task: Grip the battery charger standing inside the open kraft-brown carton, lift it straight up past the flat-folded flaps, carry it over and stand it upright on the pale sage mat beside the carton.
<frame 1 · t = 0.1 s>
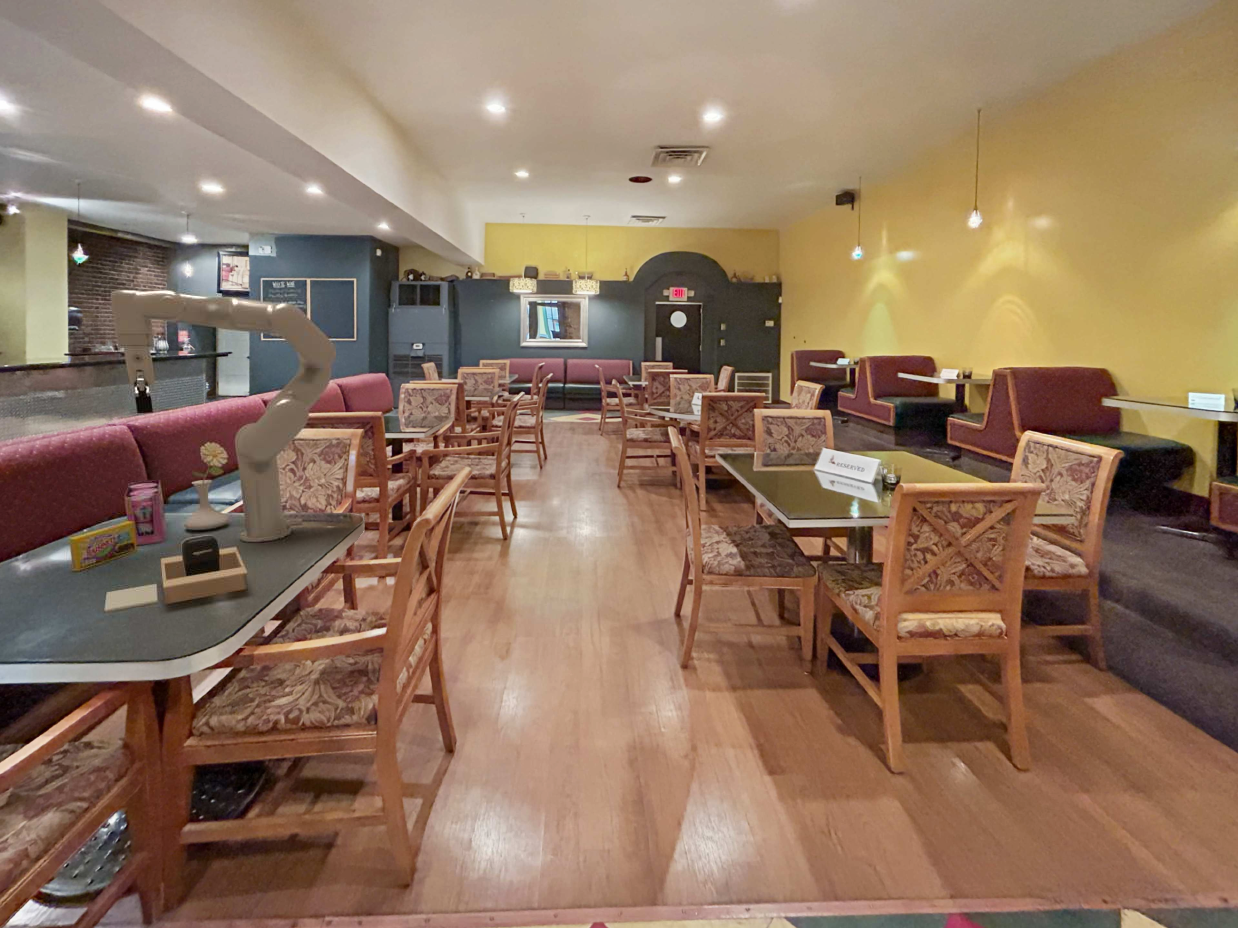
hand: (145, 411, 172), 37 cm above the table, tool pointing down, fingers open, 9 cm apart
candy box: (107, 561, 173), on the table
mat: (132, 598, 147), on the table
battery charger: (205, 587, 154), resting in carton
carton: (205, 586, 154), on the table
gum box: (149, 535, 196), on the table
flower in vase: (210, 527, 202), on the table
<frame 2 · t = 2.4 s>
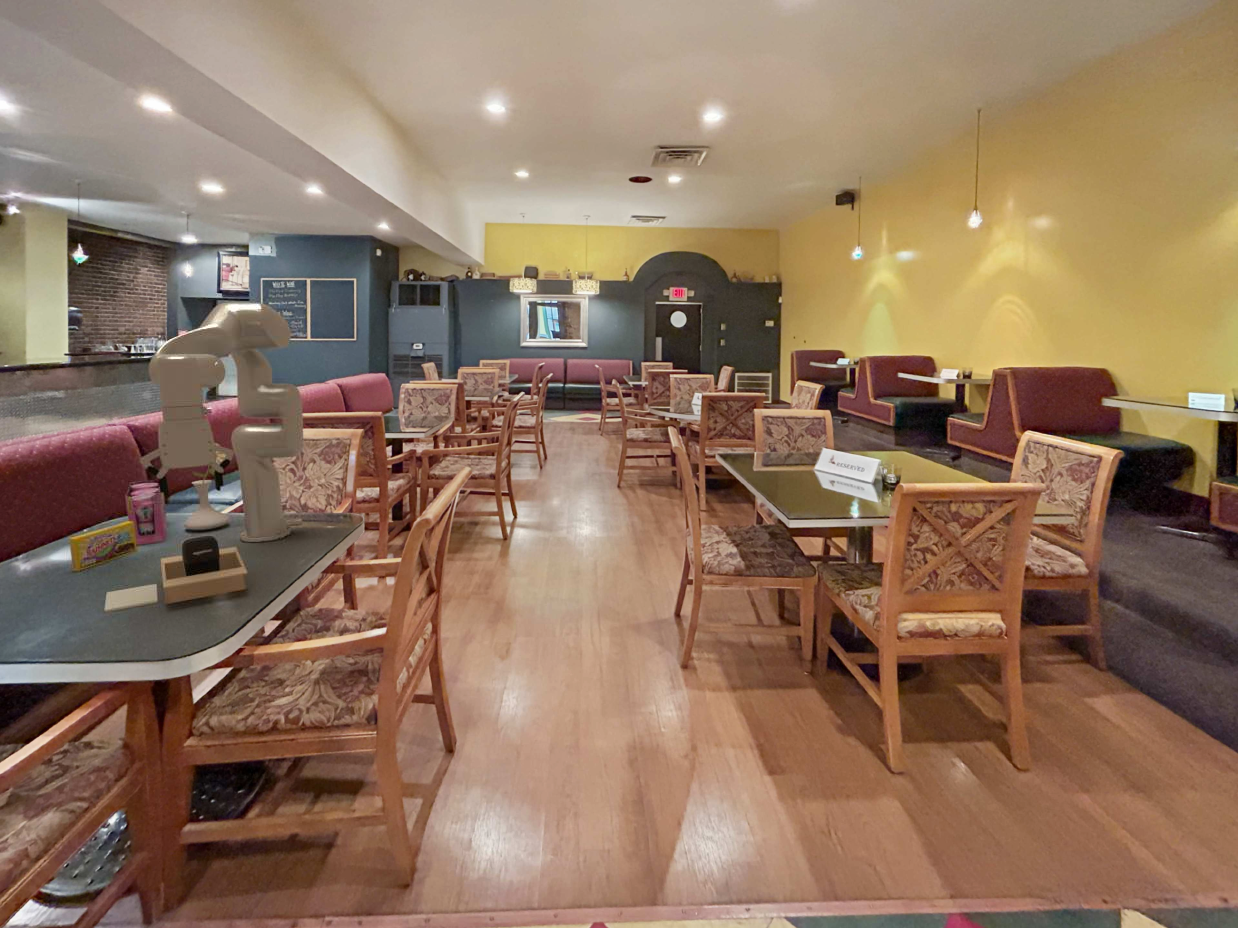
hand: (192, 492, 150), 22 cm above the table, tool pointing down, fingers open, 9 cm apart
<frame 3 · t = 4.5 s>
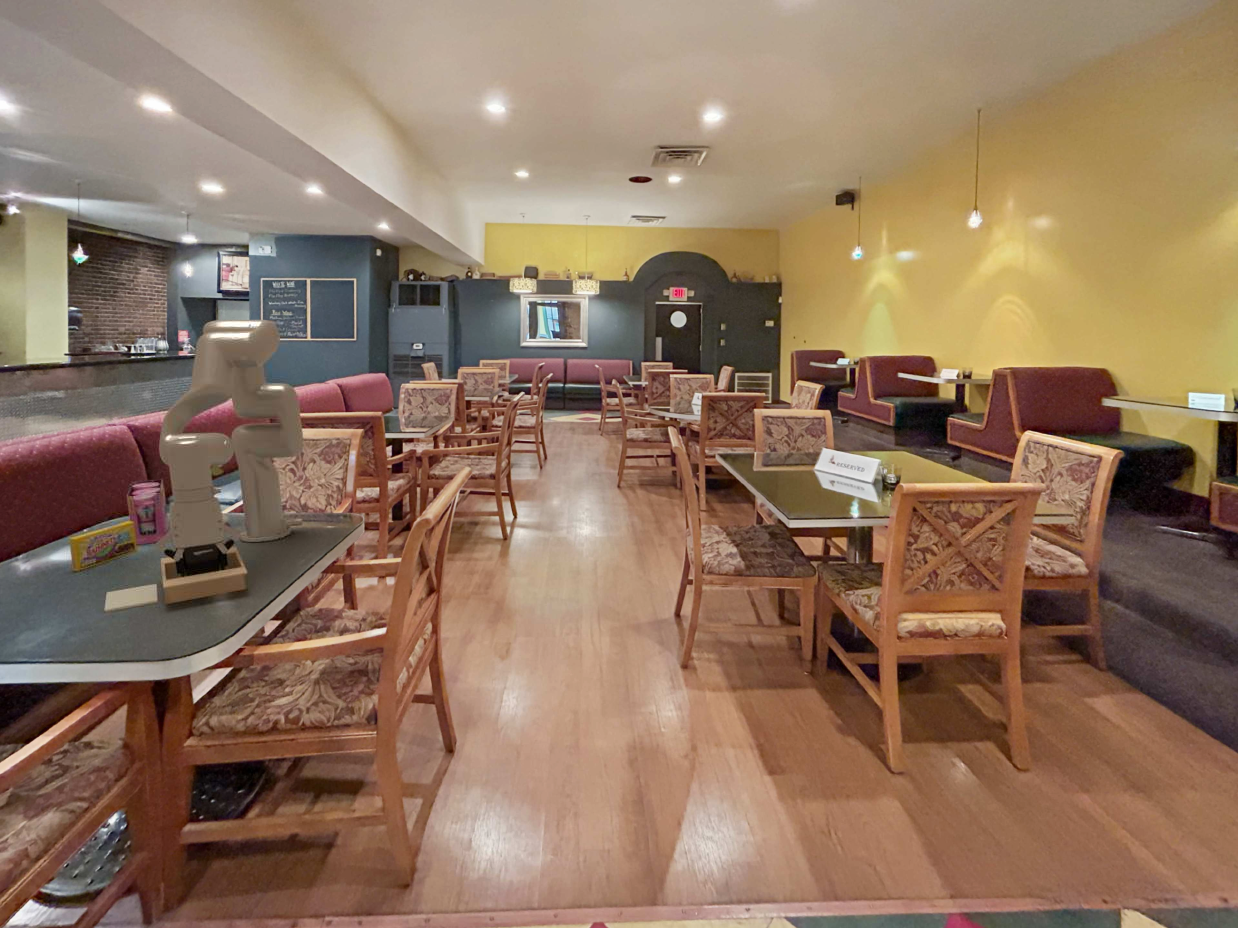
hand: (203, 572, 153), 3 cm above the table, tool pointing down, fingers closed on battery charger, 7 cm apart
battery charger: (205, 587, 154), resting in carton, touching gripper
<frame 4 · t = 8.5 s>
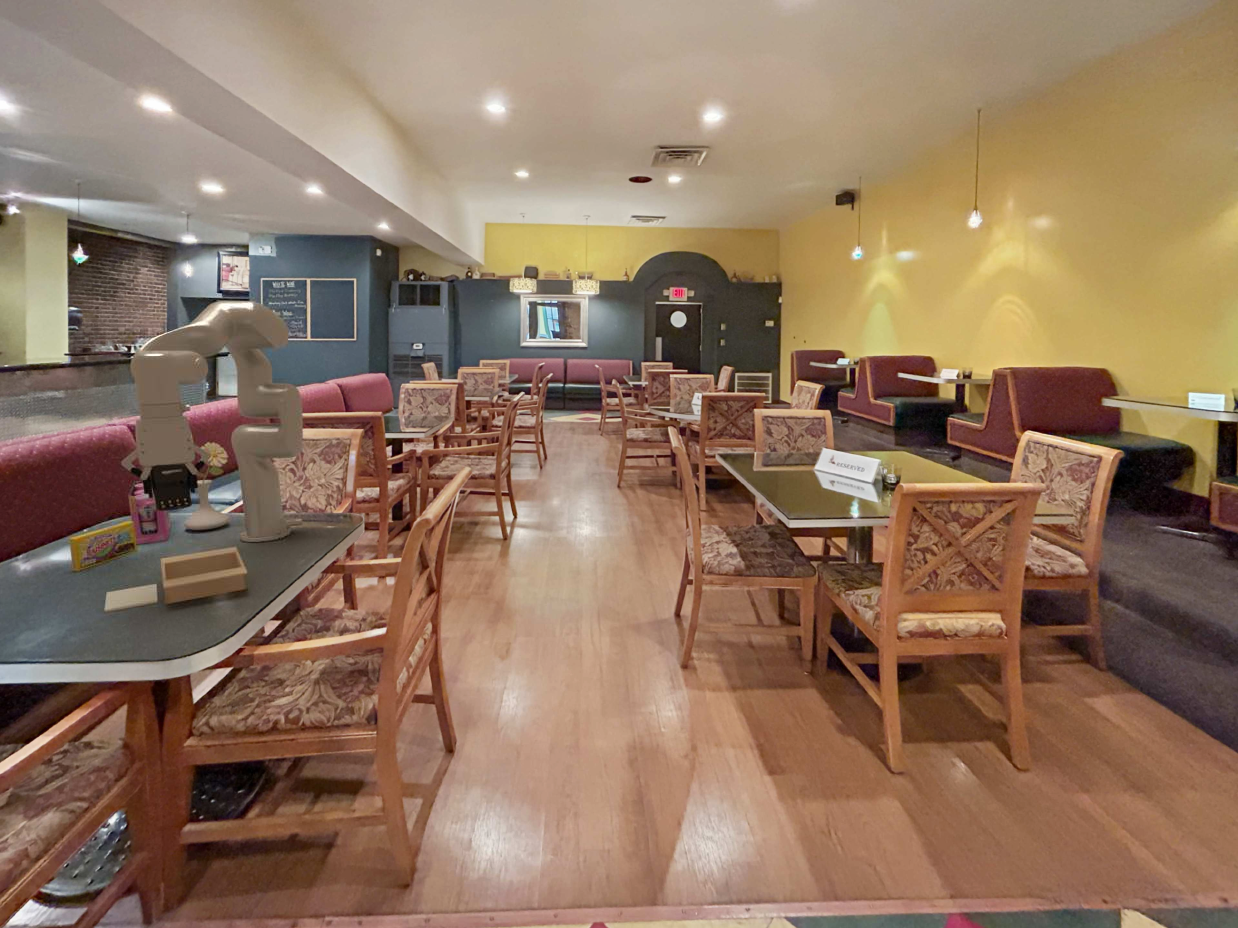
hand: (172, 493, 148), 22 cm above the table, tool pointing down, fingers closed on battery charger, 7 cm apart
battery charger: (174, 509, 149), point 18 cm above the table, touching gripper
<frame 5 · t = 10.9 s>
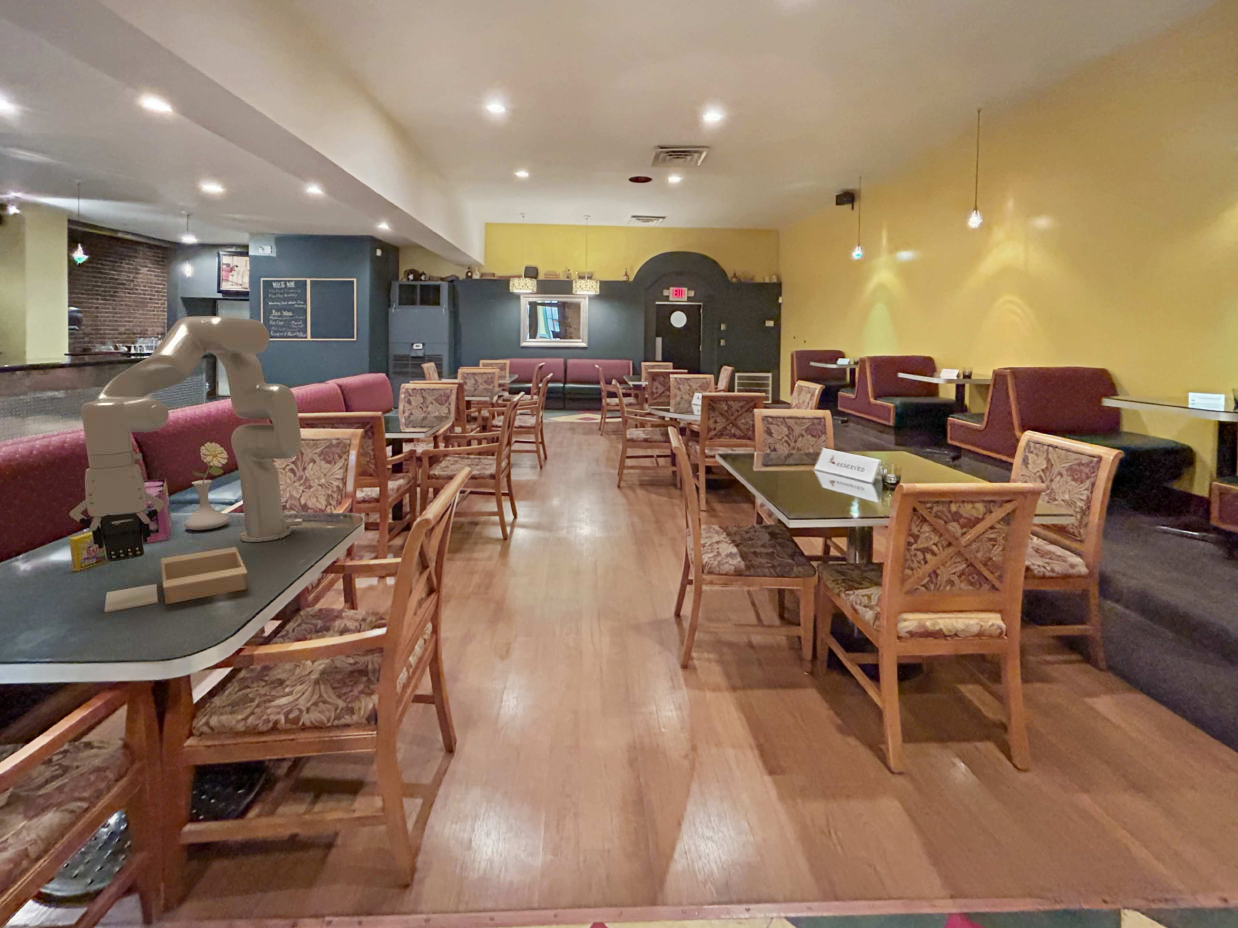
hand: (123, 543, 145), 12 cm above the table, tool pointing down, fingers closed on battery charger, 7 cm apart
battery charger: (126, 559, 146), point 9 cm above the table, touching gripper
when the fingers open (5 cm above the table, at t = 12.9 s): battery charger stays where it is, resting on mat.
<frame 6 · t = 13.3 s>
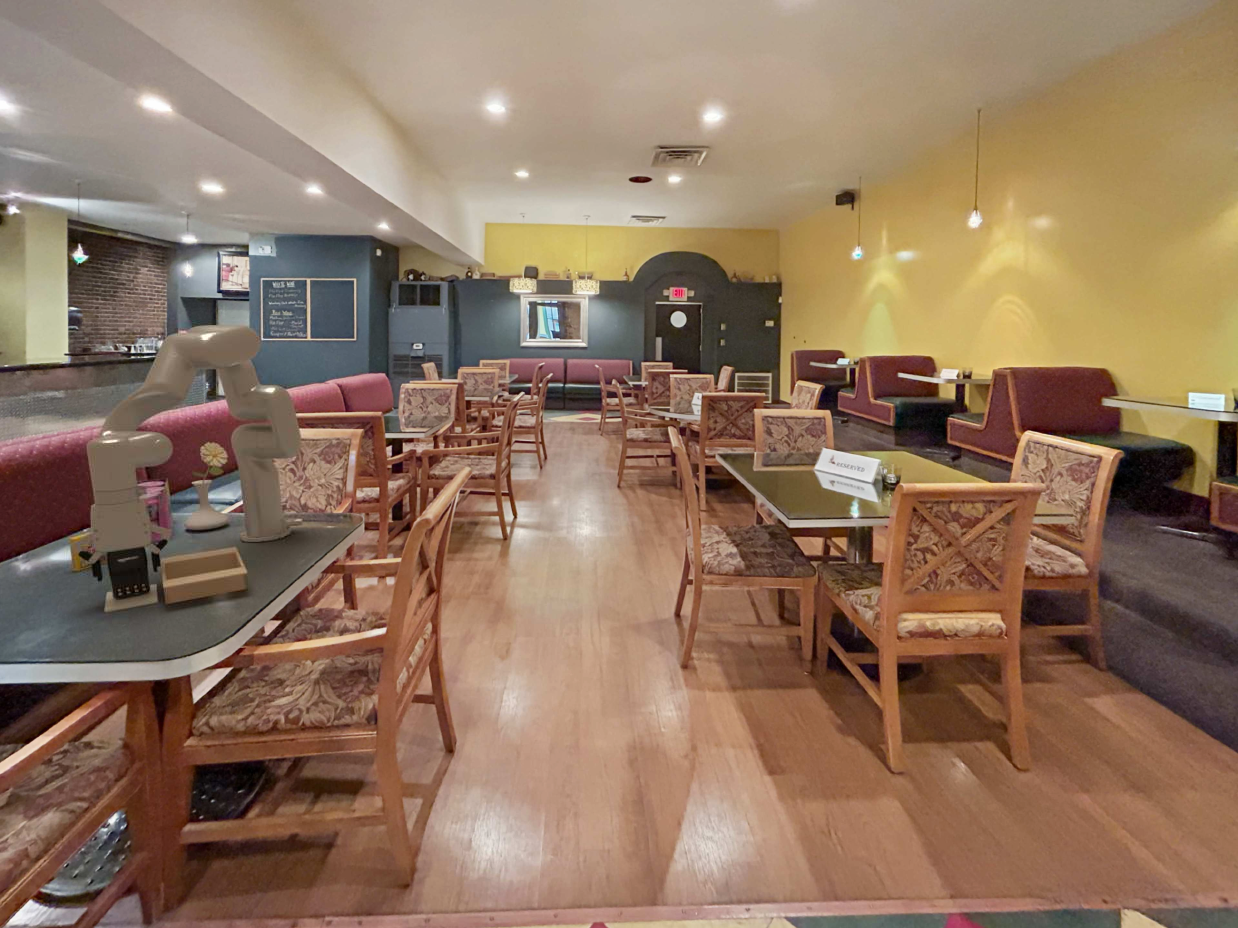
hand: (128, 574, 146), 5 cm above the table, tool pointing down, fingers open, 9 cm apart
battery charger: (132, 596, 147), resting on mat
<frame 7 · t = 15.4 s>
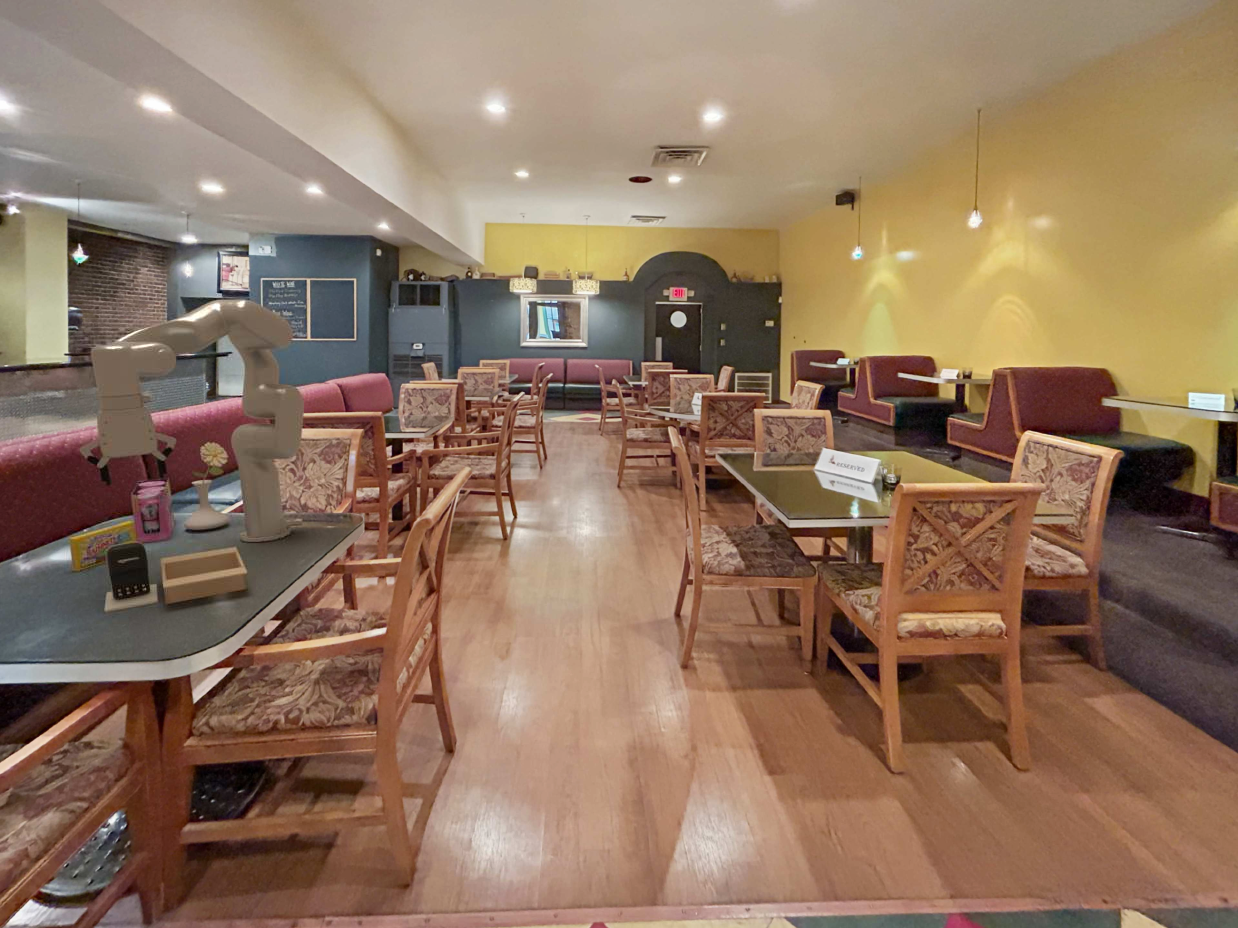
hand: (135, 480, 151), 24 cm above the table, tool pointing down, fingers open, 9 cm apart
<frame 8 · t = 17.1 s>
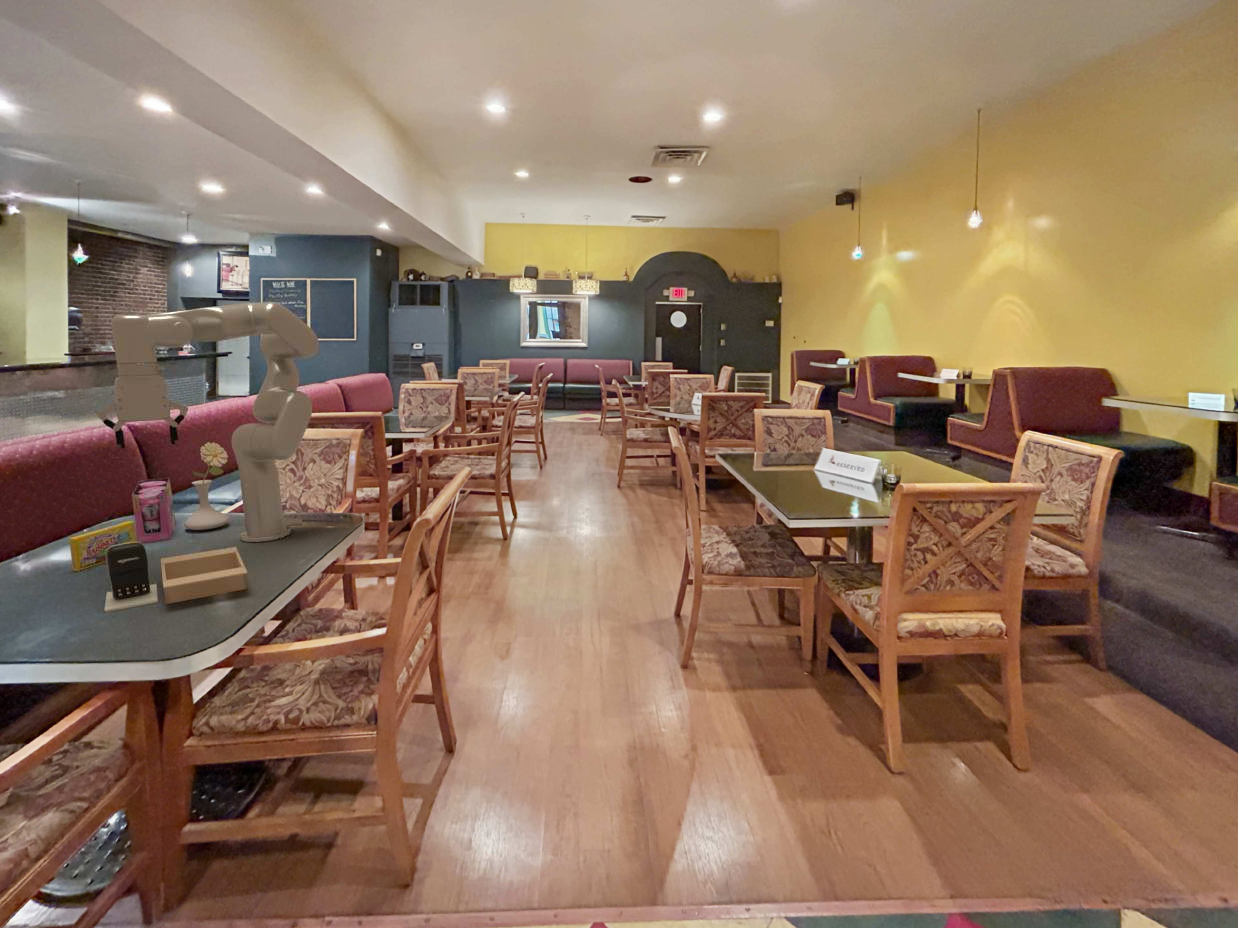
hand: (148, 445, 159), 30 cm above the table, tool pointing down, fingers open, 9 cm apart
at the end: battery charger inside the target area on the mat (0.3 cm from its centre), point 0.3 cm above the mat's base; battery charger tilted 0°; the gripper is holding nothing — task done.
